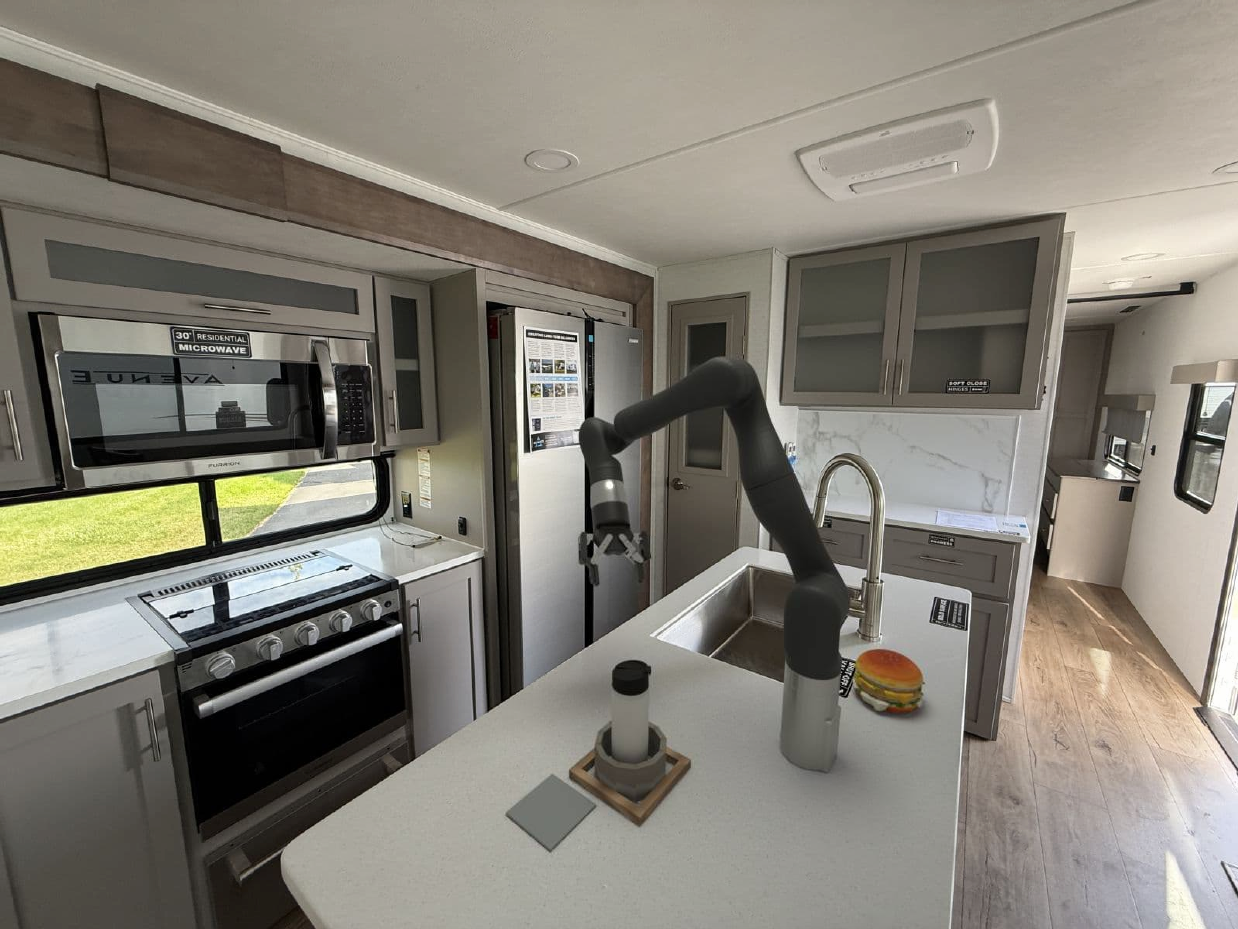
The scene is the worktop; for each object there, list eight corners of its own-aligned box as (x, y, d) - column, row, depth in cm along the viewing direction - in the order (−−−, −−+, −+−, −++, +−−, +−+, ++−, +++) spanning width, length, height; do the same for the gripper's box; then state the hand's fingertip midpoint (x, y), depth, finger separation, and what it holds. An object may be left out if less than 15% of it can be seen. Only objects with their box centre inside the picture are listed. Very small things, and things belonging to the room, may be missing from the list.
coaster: (596, 806, 80) (596, 804, 80) (550, 852, 73) (550, 849, 72) (552, 775, 86) (552, 773, 86) (505, 814, 79) (505, 812, 79)
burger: (928, 697, 108) (934, 654, 106) (913, 730, 98) (918, 683, 96) (862, 672, 117) (865, 632, 115) (841, 700, 107) (845, 657, 105)
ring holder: (690, 767, 88) (691, 736, 87) (639, 826, 77) (640, 791, 76) (623, 729, 98) (623, 701, 96) (568, 777, 86) (568, 746, 85)
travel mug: (646, 789, 83) (648, 680, 80) (608, 783, 85) (607, 675, 81) (652, 761, 89) (653, 658, 86) (615, 756, 91) (615, 654, 87)
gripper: (579, 499, 99) (586, 581, 92) (647, 499, 103) (659, 578, 96) (571, 513, 105) (577, 591, 98) (636, 512, 109) (646, 587, 102)
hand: (618, 584), depth 97 cm, fingers open, 8 cm apart
